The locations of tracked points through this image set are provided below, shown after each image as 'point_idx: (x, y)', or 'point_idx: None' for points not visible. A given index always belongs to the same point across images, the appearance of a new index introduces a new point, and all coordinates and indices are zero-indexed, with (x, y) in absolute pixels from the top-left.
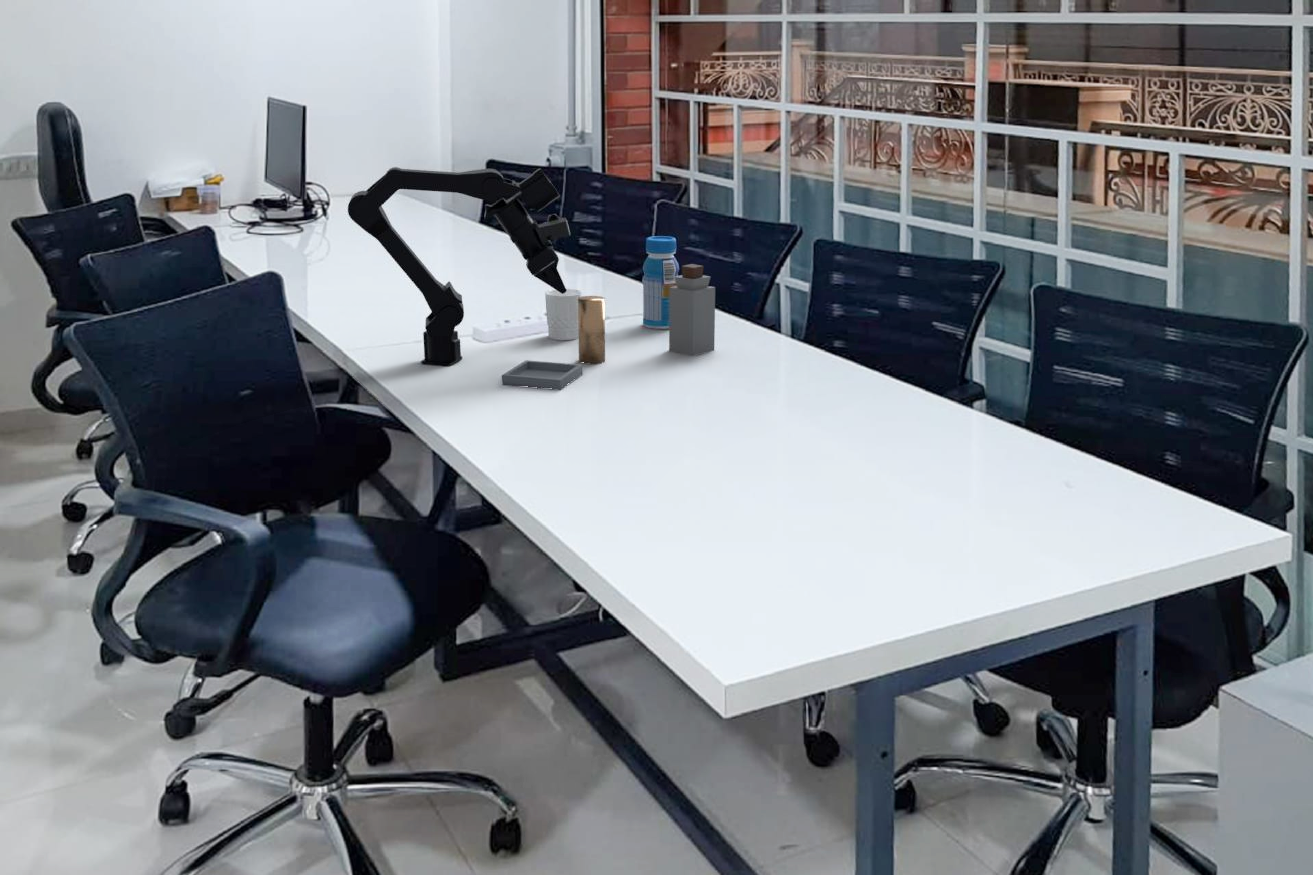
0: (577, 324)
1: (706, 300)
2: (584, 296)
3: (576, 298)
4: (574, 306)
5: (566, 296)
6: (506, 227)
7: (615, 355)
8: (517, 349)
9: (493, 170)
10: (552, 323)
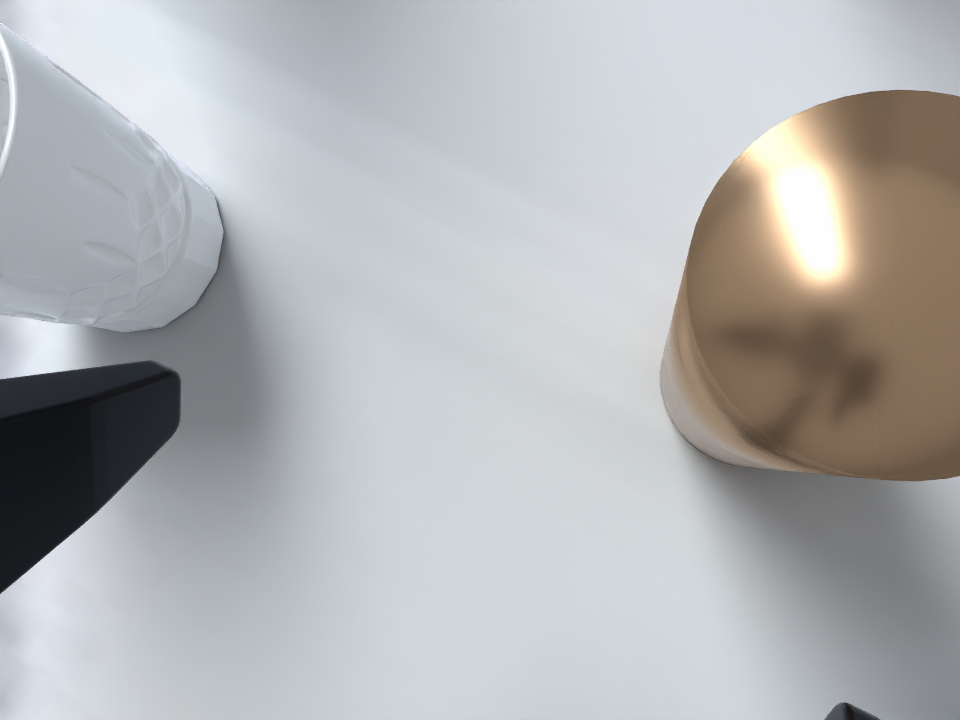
0: (169, 164)
1: None
2: (700, 295)
3: (39, 88)
4: (88, 137)
5: (6, 172)
6: None
7: (694, 180)
8: (235, 630)
9: None
10: (94, 315)
